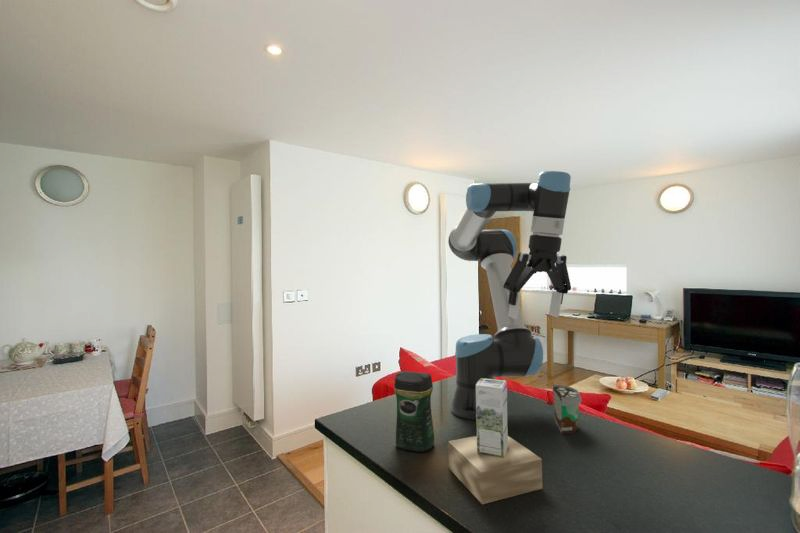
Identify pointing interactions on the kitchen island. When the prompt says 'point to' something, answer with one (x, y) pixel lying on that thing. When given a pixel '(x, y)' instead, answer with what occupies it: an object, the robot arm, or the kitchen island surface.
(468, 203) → the robot arm
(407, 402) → the coffee jar
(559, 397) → the food container
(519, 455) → the oak plinth
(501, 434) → the syrup box
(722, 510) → the kitchen island surface
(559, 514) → the kitchen island surface
